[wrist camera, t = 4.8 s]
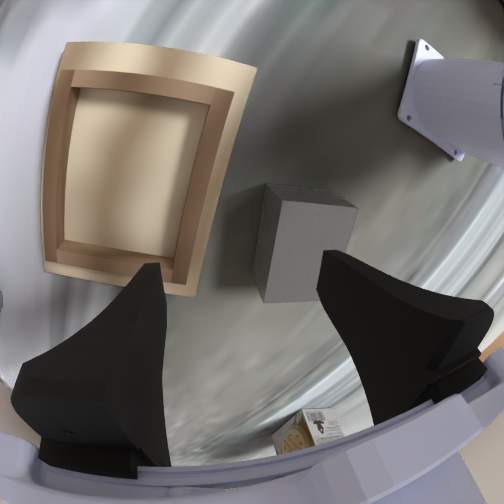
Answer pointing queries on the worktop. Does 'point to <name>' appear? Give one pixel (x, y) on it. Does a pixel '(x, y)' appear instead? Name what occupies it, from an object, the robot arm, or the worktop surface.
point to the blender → (1, 301)
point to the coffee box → (307, 430)
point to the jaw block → (298, 239)
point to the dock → (137, 160)
